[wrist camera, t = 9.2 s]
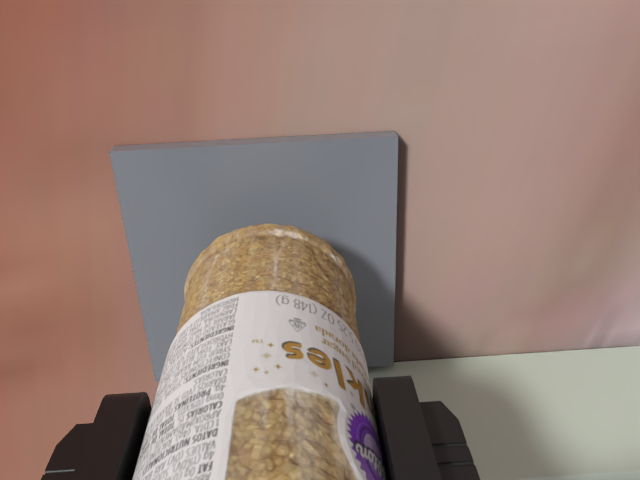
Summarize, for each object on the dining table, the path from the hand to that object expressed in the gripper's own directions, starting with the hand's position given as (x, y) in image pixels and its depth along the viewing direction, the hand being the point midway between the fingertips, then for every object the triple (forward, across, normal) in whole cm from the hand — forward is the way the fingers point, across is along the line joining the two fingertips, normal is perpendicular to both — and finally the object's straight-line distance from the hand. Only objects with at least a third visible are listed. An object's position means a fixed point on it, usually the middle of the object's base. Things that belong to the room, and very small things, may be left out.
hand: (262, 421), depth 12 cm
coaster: (+7, 0, 0) cm, 7 cm away
